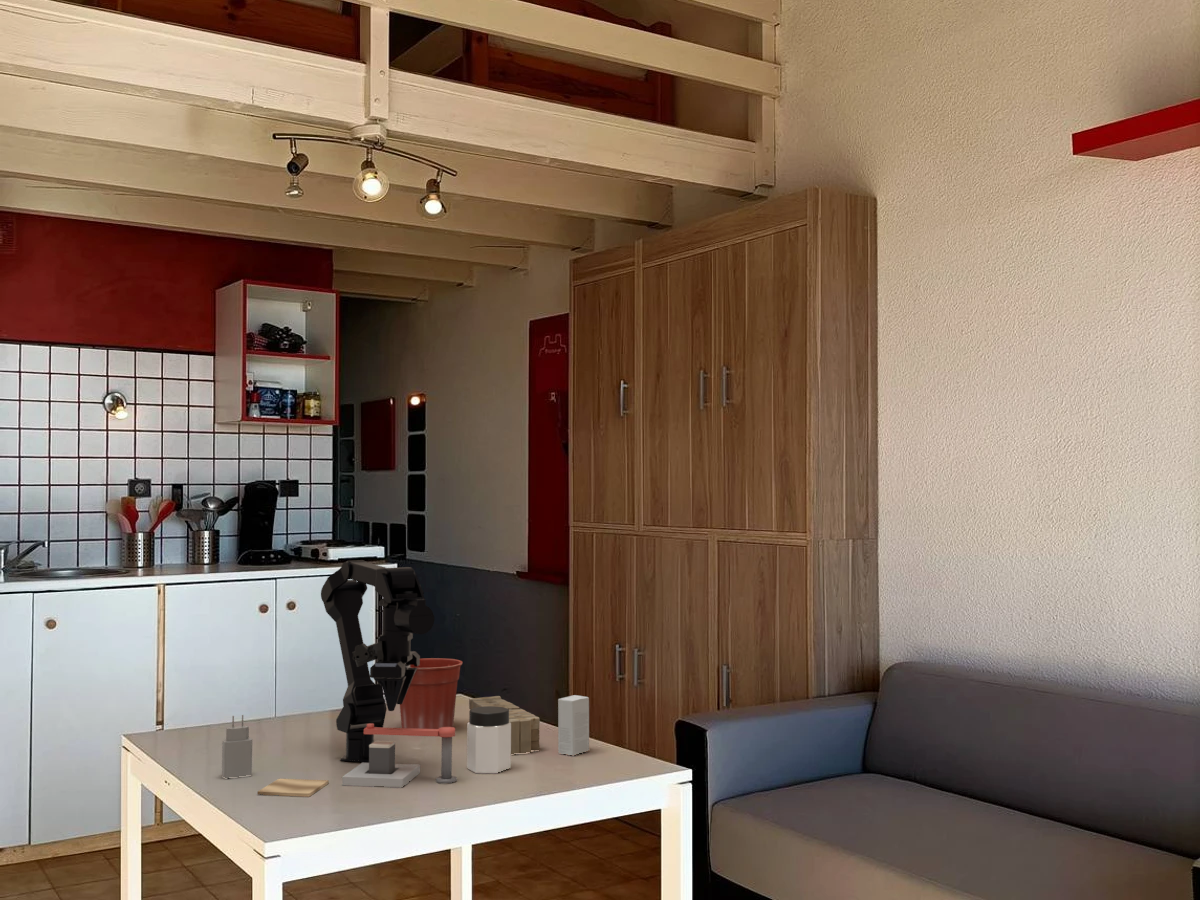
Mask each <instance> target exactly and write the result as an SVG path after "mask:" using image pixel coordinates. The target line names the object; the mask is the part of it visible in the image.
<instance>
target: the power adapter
mask: <svg viewBox="0 0 1200 900" xmlns="http://www.w3.org/2000/svg"><path fill="white" fill-rule="evenodd" d="M231 721H232V723H231V724H232V725H231V726H229V727H226V730H225V731H226V732H225V734H226V736H225V739H222V740H221V741H222V742H221V745H222V747H221V777H222V776H223V777H225V778H229V777H239V776H246V775H252V776H253V738H252V737H249V736H250V726H248V725H244V714H242V715H241V725H238V726H235V716H234V715H232V720H231Z"/></svg>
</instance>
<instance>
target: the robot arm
mask: <svg viewBox="0 0 1200 900" xmlns="http://www.w3.org/2000/svg"><path fill="white" fill-rule="evenodd" d="M368 585H370V586H372V587H375V589H374V591H375V592H376V593H377V594H379V595H380V596H381V597H382V598H381V599H380V600H379V601H378V606H380V607H382V610H381V611H382V615H381V616H382V617H381V619H382V620H381V623H382V624H381V626H382V627H381V635H379V636H378V637H377V642H375V643H371V644H369V645H367V644H365V643H364V640H363V635H362V629H361V623H360V619H359V615H360V612H361V609H362V606H363V604H364V601H363V597H364V595H365V594H366V592H367V590H368ZM424 594H425V592H424V590H423V588H422V586H421V583H420V580H419V578H418V576H417V573H416V572H415V569H414V568H413V567H411V566H410V567H409V566H405V567H404V566H403V567H385V566H382V565H377V564H374V563H372V562H368V561H365V560H363V559H360V560H359V559H358V560H347V561H344V562H343V563H342V565H341V567H340V568H339V569H337V570H336V571H335V572H333V573H332V574H330V575H329V576H328V577H327V578H326V580H325V582H324V583H323V585H322V587H321V590H320V599H321V602H322V603H323V605H324V609H325V612H326V613H327V615H328V616H329V617H330V618H331V619H332V620H333V621H334V622H335V625H336V630H337V631H336V632H337V636H338V641H339V645H340V646H339V647H340V651H341V657H342V662H343V666H344V667H343V668H344V671H345V677H346V682H347V687H346V690H345V693H344V696H343V698H342V705H343V706H342V708H341V710H340V712H339V714H338V716H337V718H336V720H335V722H336V730H337V731H340V732H342V733H345V746H346V747H345V755H343V756H342V757H340V758H339V761H340V762H358V763H359V762H361V763H369V745H370V744H371V743H373V742H375V741H374V740H375V739H374V738H375V737H374V736H375V734H364V729H365V728H366V727H367V724H369V723H373V724H374V727H384V725H385V719H386V715H387V710H388V711H389V712H394V711H395V709H396V706H397V705H400V704H402V703H403V701H404V698H405V696H406V693H407V691H408V688H409V686H410V684H411V681H412V679H413V677H414V675H415V672H416V670H417V668H410V665H414V666H419V665H420V659H421V655H420V654H419V653H418V652H417V651H414V650H413V651H412V650H411V640H412V639H414V637H413V636H414V634H416V635H426V634H427V633H428V632H430V630H431V629H432V628H433V627H434V623H435V614H434V612H433V610H432V608H430V606H427V605H426V603H427V602H426V598H425V596H424ZM375 660H376V662H374V661H375ZM372 661H373V662H374V663H373V664H372V666H371V667H369V665H368V663H370V662H372ZM372 679H373V680H374V681H376V682H377V683H375V682H374V681H373V680H372Z"/></svg>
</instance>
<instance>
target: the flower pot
mask: <svg viewBox="0 0 1200 900" xmlns="http://www.w3.org/2000/svg"><path fill="white" fill-rule="evenodd" d="M462 665H463V661H462V660H459V659H455V658H444V657H443V658H439V657H437V658H434V657H431V658H420V665H419V666H414V665H410V668H417V670H416V672H415V675H414V677H413V679H412V681H411V684H410V686H409V688H408V691H407V693H406V696H405V698H404V701H403V703H402V704H399V711H400V712H399V713H400V723H401V728H417V729H439V728H441V727H454V722H455V712H456V700H457V689H458V681H459V680H460V674H461V672H460V671H461V666H462Z"/></svg>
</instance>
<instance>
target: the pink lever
mask: <svg viewBox="0 0 1200 900" xmlns="http://www.w3.org/2000/svg"><path fill="white" fill-rule="evenodd" d="M364 734H374V735H383V736H413V737H417V736H418V737H440V738H442V737H452V738H453V737H455V736H456V727H454V726H453V727H441V728H439V729H417V728H402V727H384V726H383V727H374V724H373V723H369V724H367V727H366V728H365V729H364Z"/></svg>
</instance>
